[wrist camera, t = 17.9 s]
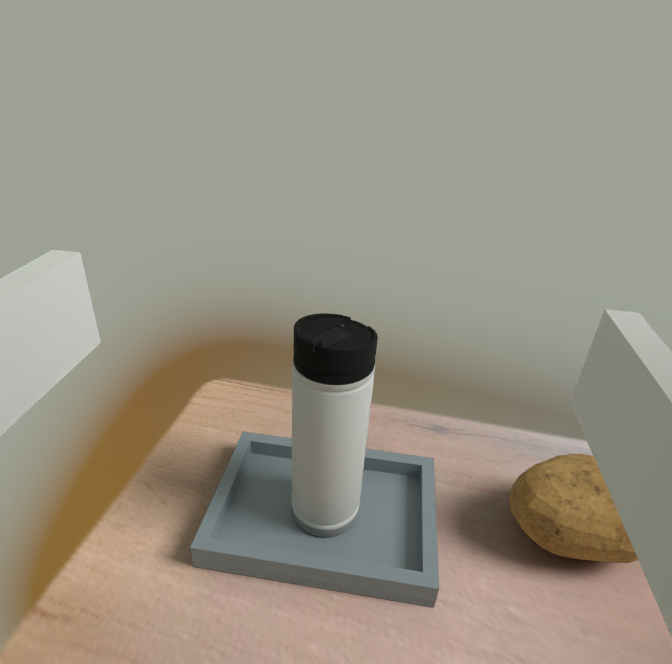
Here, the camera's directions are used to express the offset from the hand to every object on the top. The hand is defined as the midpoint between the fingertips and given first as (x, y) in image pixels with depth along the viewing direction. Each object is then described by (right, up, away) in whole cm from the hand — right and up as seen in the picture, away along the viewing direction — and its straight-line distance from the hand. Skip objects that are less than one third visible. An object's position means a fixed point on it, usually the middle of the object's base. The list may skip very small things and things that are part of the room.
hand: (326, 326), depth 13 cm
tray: (-1, -17, +33) cm, 38 cm away
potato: (+22, -19, +33) cm, 44 cm away
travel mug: (-1, -17, +33) cm, 37 cm away
